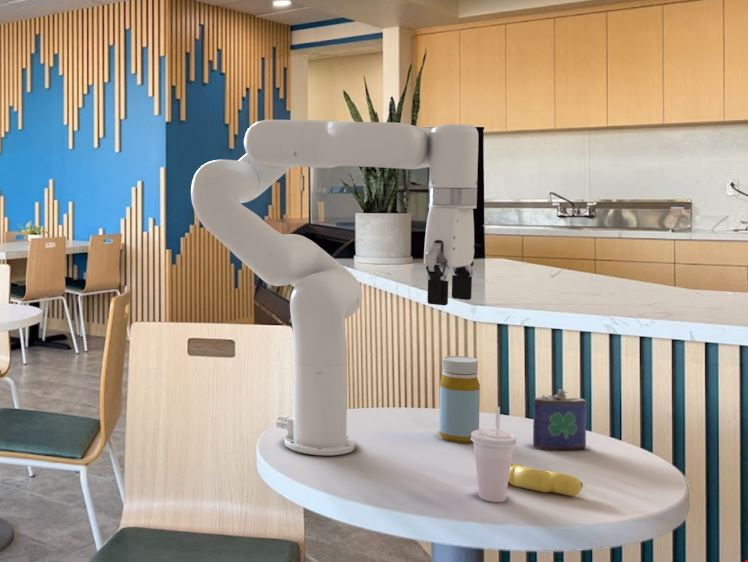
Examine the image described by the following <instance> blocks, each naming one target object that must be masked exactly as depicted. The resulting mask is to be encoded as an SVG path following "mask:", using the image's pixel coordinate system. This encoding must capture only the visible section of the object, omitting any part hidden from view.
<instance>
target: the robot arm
mask: <svg viewBox="0 0 748 562" xmlns="http://www.w3.org/2000/svg"><path fill="white" fill-rule="evenodd" d="M243 147H244V150H245V154H243V156H241V157H240V158H239V159H238V160H237V159H214V160H211V161H207V162H205V163H204V164H202V165H201V166H200V167H199V168H198V169H197V170H196V172H195V173H194V175H193V178H192V181H191V185H190V186H191V188H190V198H191V205H192V208H193V211H194V214H195V216H196V217H197V219H198V220H199V222H200V223H201V224H202V226H203V227H204V228H205V229H206V230H207V231H208V233H210V234H211V235H212V236H213V237H214V238H215V239H216V240H218V241H219V242H220V243H221V244H222V245H223V246H224V247H226V249H228V250H229V251H230V252H231V253H232V255H234V256H235V257H236V258H237V259H239V261H241V262H242V263H243V264H244V265H245V266H246V267H248V268H249V270H251V271H252V272H253V273H254V274H255V275H256V276H258V278H260V280H262V281H263V282H264V283H265V284H268V285H270V286H274V287H282V286H288V285H290V286H292V287H293V289H292V292H291V295H290V299H289V310H290V311H289V312H290V319H291V327H292V339H293V340H292V342H293V343H292V344H293V401H292V402H293V405H292V407H293V408H292V409H293V410H292V411H293V412H292V414H293V416H292V417H290V416H289V415H283V414H279V415H278V417H277V420H276V422H275V426H276V428H278V429H282V430H283V429H285V430H286V431H287V434H286V435H285V436H284V445H285V447H287V448H288V449H289V450H292V451H294V452H297V453H301V454H306V455H311V456H312V455H313V456H340V455H345V454H349V453H351V452H353V451H354V450H355V449H356V441H355V439H354V438H352V437H351V436H348V435H347V425H348V424H347V422H348V421H347V420H348V418H347V417H348V416H347V415H348V412H347V410H348V407H347V406H348V343H347V335H346V328H345V319H349V318H350V317H352V316H353V315H354V314H356V312H357V311H358V310H359V308H360V307H361V305H362V302H363V290H362V289H363V288H362V286H361V283H360V282H359V280H358V279H357V278H356V276H354V274H353V273H352V272H351V271H350V270H348V269H347V268H346V267H345V266H344V265H342V263H340V262H339V261H338V260H336V259H335V258H334V257H333V256H331V254H329V253H328V252H327V251H326V250H324V249H323V248H322V247H320V246H319V244H317V243H315V241H313V240H311V239H309V238H307V237H306V236H304V235H300V234H295V233H286V234H284V233H281V232H279V231H277V230H276V229H274V227H272V226H271V225H270V224H268V223H267V222H266V221H265V220H264V219H263V218H261V216H259V215H258V214H257V213H255V212H254V211H253V210H251V209H249V208H248V207H247V206H244V205H243V204H244V203H249V202H251V201H254V200H255V199H256V198H258V197H259V196H261V195H262V194H263V193H264V192H265V191H267V190H268V189H269V188H270V187H271V186H272V185H273V184H275V183H276V182H277V181H278V180H279V179H281V177H283V175H285V174H286V173H287V172H288V171H290V169H292V167H295V168H296V167H298V168H318V169H333V168H336V167H365V168H386V169H402V170H418V169H419V170H420V169H425V168H428V169H429V171H428V173H429V174H428V175H429V176H428V206H427V207H428V208H429V210H428V213H427V220H426V225H425V226H426V227H425V234H424V235H425V236H424V248H423V249H424V250H423V264H424V265H425V266H426V267H425V270H426V272H427V274H426V280H427V298H426V299H427V301H426V302H427V304H429V305H435V306H447V305H448V304H449V280H447V278H448V274H449V272H450V269H452V270H453V273H454V274H452V275H451V276H452V277H451V298H452V299H454V300H464V301H465V300H466V301H469V300H472V290H473V289H472V288H473V287H472V286H473V274H474V271H473V266H474V263H475V262H474V257H475V251H476V250H475V220H474V209H477V206H478V205H477V204H478V203H477V202H478V167H479V166H478V165H479V164H478V163H479V131H478V129H477V127H475V126H474V125H471V124H462V123H461V124H459V123H457V124H455V123H453V124H451V123H450V124H440V125H436V126H434V127H426V126H417V125H413V124H410V123H405V122H392V121H391V122H389V121H388V122H387V121H386V122H383V121H339V120H326V119H325V120H323V119H322V120H321V119H319V120H314V119H313V120H312V119H310V120H309V119H263V120H259V121H256V122H255V123H253V124H252V125H251V126H249V128H247V131H246V132H245V135H244V138H243Z"/></svg>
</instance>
